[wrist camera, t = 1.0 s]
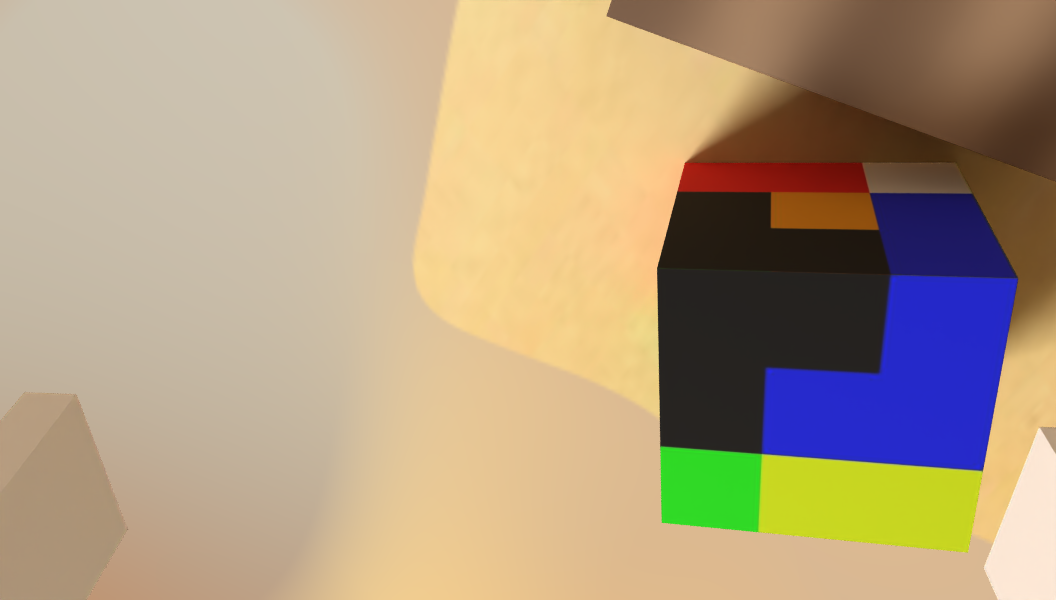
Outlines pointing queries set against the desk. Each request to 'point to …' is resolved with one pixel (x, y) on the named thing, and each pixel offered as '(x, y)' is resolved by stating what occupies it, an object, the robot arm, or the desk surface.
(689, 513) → the puzzle toy
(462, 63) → the desk surface
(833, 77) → the walnut plinth
